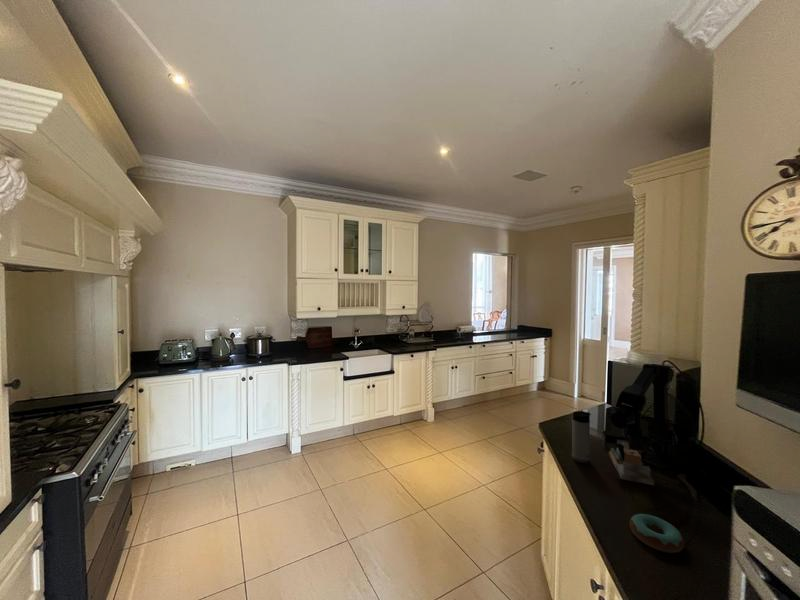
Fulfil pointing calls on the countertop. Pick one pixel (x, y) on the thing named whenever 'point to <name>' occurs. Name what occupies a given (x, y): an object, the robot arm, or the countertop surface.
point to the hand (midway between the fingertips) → (631, 462)
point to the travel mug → (580, 436)
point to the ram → (626, 446)
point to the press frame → (631, 470)
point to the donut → (656, 533)
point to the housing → (632, 457)
